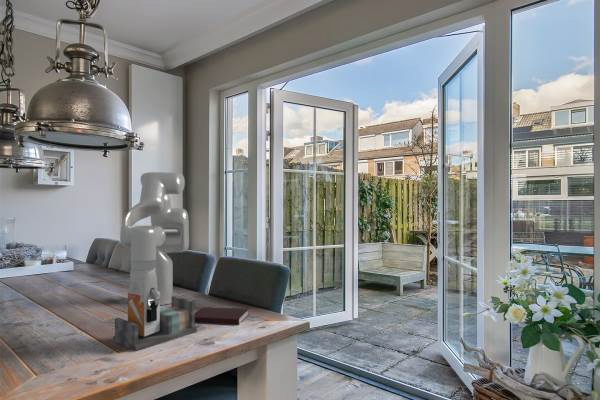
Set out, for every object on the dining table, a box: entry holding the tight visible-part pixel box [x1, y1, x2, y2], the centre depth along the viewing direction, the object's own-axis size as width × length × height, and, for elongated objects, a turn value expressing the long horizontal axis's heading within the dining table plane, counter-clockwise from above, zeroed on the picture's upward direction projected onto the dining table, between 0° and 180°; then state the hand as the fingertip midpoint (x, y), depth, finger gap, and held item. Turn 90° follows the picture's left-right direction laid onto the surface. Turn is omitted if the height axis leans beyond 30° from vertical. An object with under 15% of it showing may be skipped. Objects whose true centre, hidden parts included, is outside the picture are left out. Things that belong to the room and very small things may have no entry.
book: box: [195, 306, 250, 326], centre depth 147 cm, size 12×19×3 cm, turn 80°
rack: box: [112, 295, 197, 352], centre depth 128 cm, size 14×22×10 cm, turn 142°
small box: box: [127, 292, 161, 337], centre depth 125 cm, size 8×6×13 cm
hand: (143, 318), depth 125 cm, fingers closed on small box, 8 cm apart
